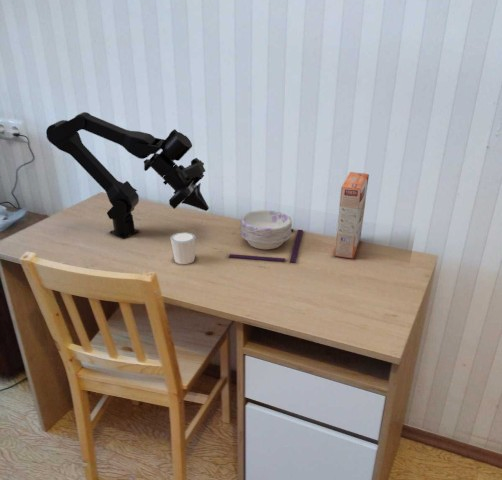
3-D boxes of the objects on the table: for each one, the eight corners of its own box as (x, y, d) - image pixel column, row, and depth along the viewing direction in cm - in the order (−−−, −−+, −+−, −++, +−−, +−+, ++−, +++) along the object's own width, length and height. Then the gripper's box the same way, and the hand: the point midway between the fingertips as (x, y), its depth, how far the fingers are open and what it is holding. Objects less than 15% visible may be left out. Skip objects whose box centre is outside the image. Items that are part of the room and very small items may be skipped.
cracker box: (354, 259, 151) (362, 188, 140) (333, 256, 153) (339, 186, 142) (362, 240, 162) (370, 172, 151) (342, 237, 164) (348, 170, 153)
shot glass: (172, 254, 154) (171, 232, 150) (196, 253, 155) (195, 231, 151) (171, 265, 148) (169, 242, 145) (196, 264, 149) (195, 241, 145)
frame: (228, 257, 152) (228, 256, 152) (243, 226, 171) (243, 225, 171) (295, 262, 150) (295, 261, 149) (302, 231, 168) (302, 229, 168)
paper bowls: (297, 237, 164) (298, 213, 160) (280, 258, 152) (281, 232, 148) (252, 229, 169) (252, 206, 165) (232, 248, 157) (231, 223, 153)
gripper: (177, 161, 142) (218, 203, 147) (195, 143, 158) (232, 182, 162) (151, 188, 148) (192, 228, 152) (172, 168, 163) (208, 204, 168)
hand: (207, 209), depth 158 cm, fingers closed
